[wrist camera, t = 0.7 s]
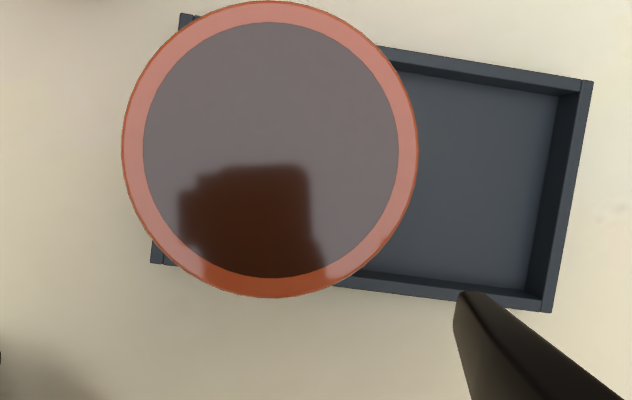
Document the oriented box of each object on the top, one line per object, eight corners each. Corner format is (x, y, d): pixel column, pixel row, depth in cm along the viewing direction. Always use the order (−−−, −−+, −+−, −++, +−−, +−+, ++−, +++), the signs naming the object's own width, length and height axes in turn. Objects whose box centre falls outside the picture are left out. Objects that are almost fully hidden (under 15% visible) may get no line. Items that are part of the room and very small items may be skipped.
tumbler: (294, 252, 24) (305, 355, 11) (180, 171, 23) (57, 186, 11) (374, 142, 24) (478, 121, 11) (262, 57, 23) (237, -67, 11)
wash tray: (161, 253, 24) (149, 263, 22) (189, 26, 23) (179, 12, 21) (528, 300, 26) (552, 314, 23) (566, 88, 25) (594, 81, 23)
